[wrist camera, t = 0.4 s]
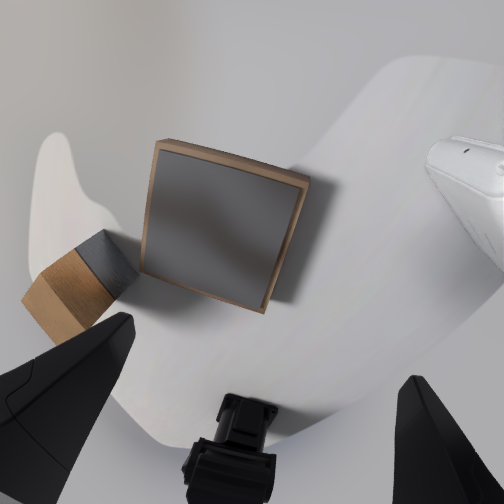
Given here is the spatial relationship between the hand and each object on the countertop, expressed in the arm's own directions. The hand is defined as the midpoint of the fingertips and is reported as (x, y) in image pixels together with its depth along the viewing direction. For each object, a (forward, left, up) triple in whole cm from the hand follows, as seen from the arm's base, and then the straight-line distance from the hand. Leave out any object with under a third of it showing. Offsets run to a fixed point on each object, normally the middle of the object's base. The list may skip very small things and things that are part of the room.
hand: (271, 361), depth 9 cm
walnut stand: (-3, +5, -16) cm, 17 cm away
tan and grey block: (-11, +16, -16) cm, 25 cm away
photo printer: (+6, -13, -16) cm, 21 cm away
